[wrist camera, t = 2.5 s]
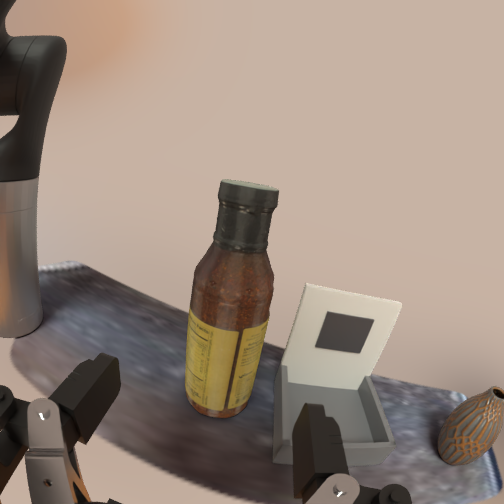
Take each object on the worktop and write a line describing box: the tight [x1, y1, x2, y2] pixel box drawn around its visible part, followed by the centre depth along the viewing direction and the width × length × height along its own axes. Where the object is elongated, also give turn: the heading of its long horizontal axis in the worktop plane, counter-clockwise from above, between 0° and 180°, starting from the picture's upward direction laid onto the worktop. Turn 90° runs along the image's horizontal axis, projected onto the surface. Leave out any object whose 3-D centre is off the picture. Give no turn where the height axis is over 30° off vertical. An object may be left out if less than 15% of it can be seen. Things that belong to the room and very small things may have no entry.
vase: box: [438, 386, 504, 465], centre depth 17 cm, size 7×7×9 cm
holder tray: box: [273, 283, 403, 466], centre depth 22 cm, size 10×11×12 cm
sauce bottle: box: [185, 179, 279, 418], centre depth 22 cm, size 6×6×20 cm
